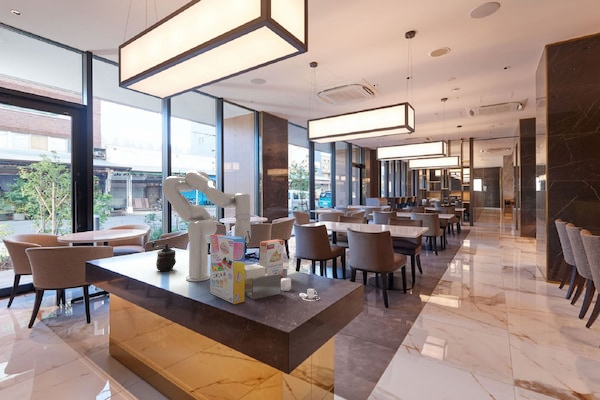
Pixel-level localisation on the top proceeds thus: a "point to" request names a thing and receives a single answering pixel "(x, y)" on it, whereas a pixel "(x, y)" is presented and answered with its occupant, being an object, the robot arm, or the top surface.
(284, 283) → the white rounded block
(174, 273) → the top surface
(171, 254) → the coffee grinder
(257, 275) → the carton
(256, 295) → the stand
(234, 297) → the game box
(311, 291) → the teacup and saucer
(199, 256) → the robot arm
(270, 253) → the cracker box
